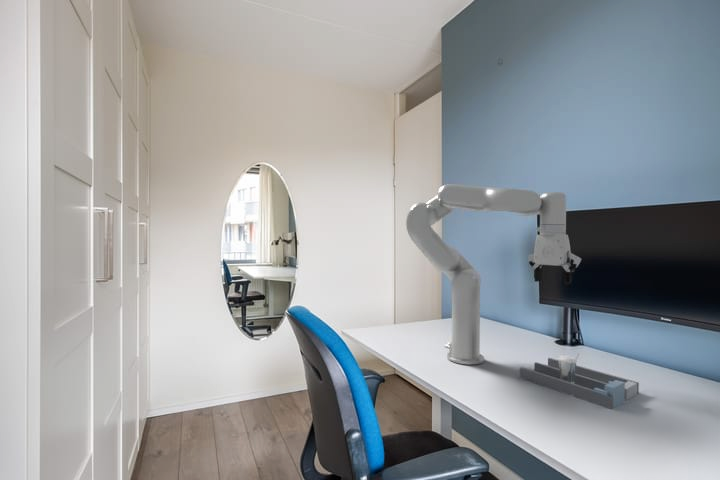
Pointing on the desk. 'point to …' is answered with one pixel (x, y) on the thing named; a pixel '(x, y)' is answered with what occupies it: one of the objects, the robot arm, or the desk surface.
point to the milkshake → (567, 368)
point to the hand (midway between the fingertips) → (552, 282)
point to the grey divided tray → (584, 383)
